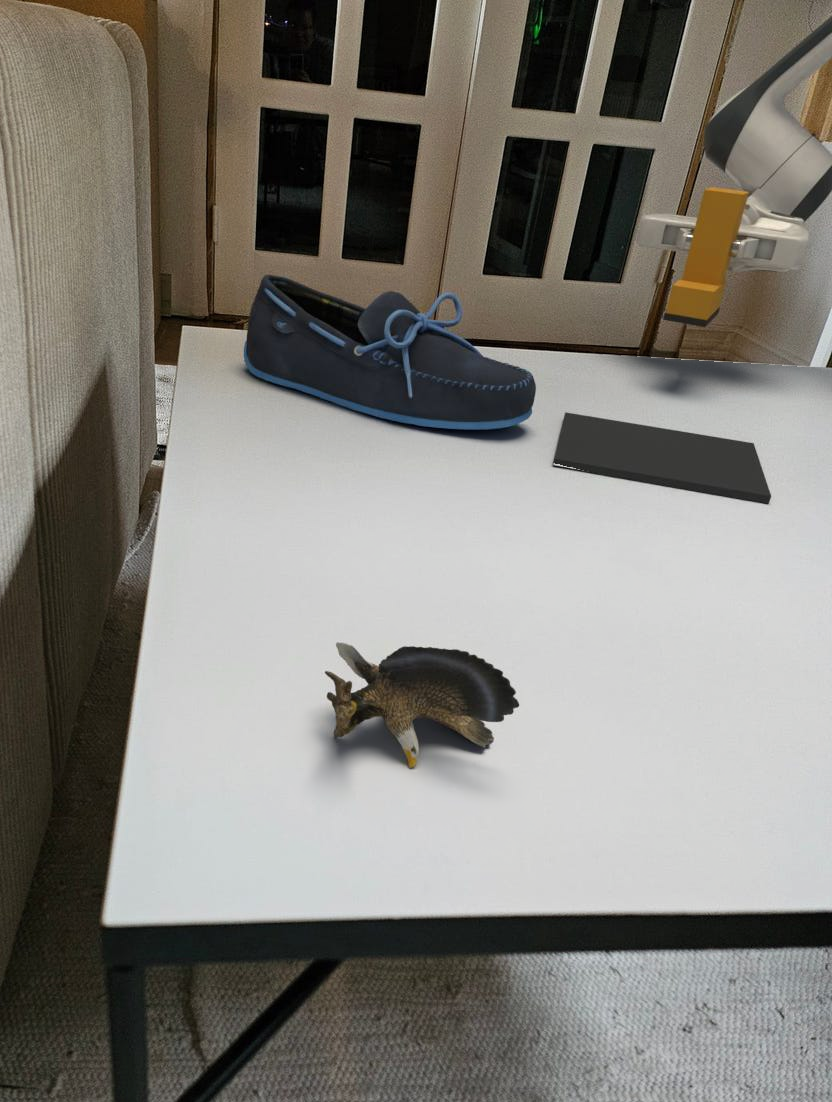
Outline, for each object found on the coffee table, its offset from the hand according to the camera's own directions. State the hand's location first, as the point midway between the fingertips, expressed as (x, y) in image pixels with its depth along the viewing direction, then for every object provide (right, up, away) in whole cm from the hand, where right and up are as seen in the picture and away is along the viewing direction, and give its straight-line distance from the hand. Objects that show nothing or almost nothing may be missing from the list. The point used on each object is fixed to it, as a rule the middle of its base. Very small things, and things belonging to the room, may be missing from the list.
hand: (711, 246), depth 113 cm
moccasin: (-40, -21, -8) cm, 46 cm away
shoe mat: (-12, -29, -17) cm, 36 cm away
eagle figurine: (-40, -53, -62) cm, 91 cm away
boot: (-1, -7, +3) cm, 8 cm away
